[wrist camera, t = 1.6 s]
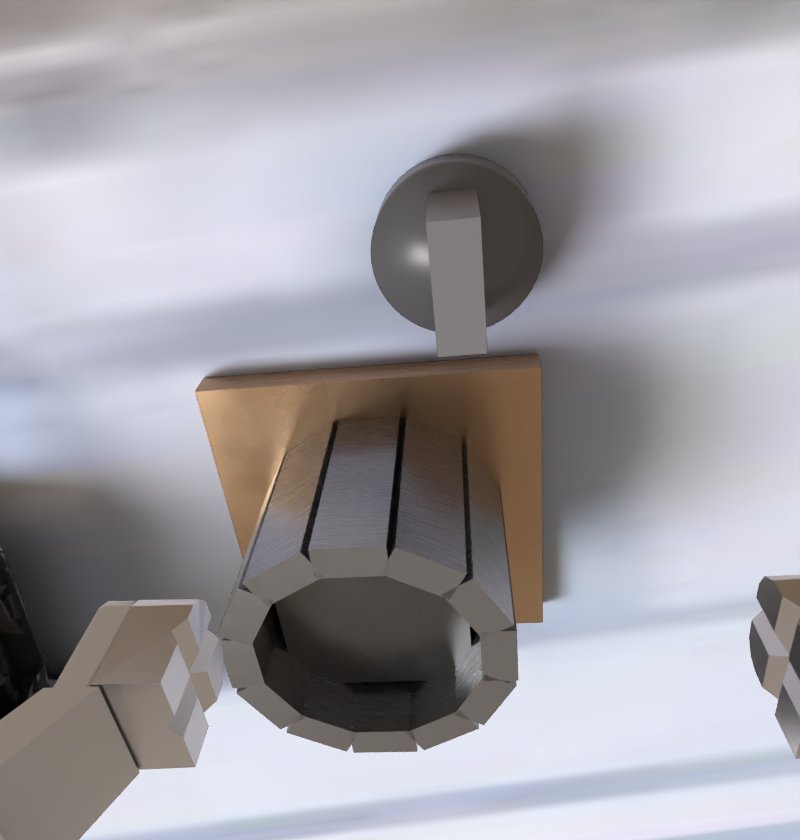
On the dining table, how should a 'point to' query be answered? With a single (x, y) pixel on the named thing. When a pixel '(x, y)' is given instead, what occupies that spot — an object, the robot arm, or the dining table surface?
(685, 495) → the dining table surface
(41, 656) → the vintage camera
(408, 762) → the dining table surface
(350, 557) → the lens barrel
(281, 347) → the dining table surface
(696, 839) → the dining table surface
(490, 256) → the rotary knob
